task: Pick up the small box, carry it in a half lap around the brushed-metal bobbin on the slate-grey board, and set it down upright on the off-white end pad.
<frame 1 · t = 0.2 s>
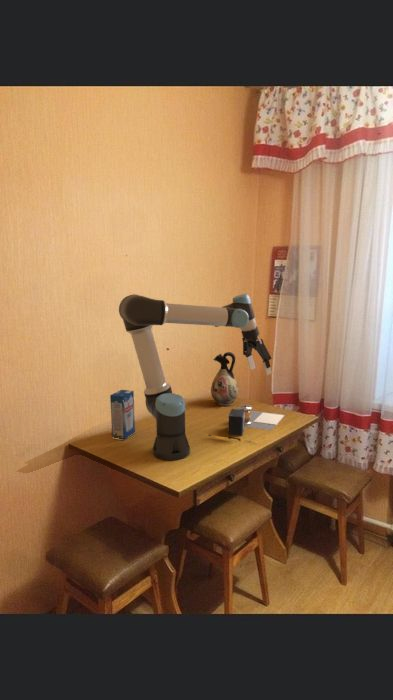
hand: (260, 371, 198), 27 cm above the table, tool tilted 15°, fingers open, 13 cm apart
bobbin: (244, 422, 205), resting on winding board
ceramic jug: (225, 404, 241), on the table
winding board: (259, 422, 210), on the table
small box: (236, 435, 194), on the table
milk carton: (123, 436, 194), on the table
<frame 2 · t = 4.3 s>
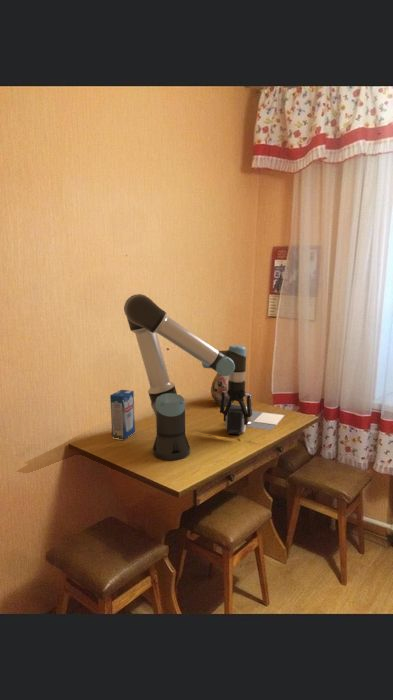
hand: (235, 429, 193), 2 cm above the table, tool pointing down, fingers closed on small box, 7 cm apart
small box: (235, 431, 193), point 2 cm above the table, touching gripper
everything else where it was.
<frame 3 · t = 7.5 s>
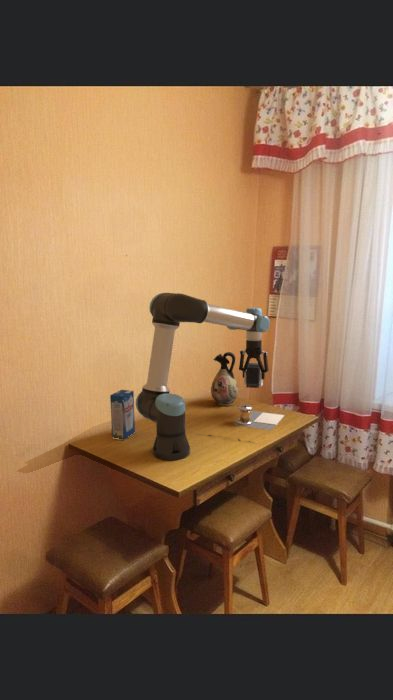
hand: (253, 384, 214), 17 cm above the table, tool pointing down, fingers closed on small box, 7 cm apart
small box: (253, 385, 214), point 17 cm above the table, touching gripper
everything else where it was.
when the fingers open (3 cm above the table, at t = 10.6 s): small box stays where it is, resting on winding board.
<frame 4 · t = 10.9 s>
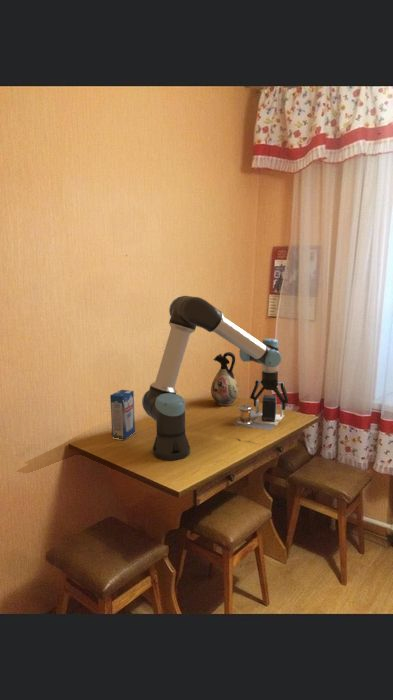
hand: (269, 414, 210), 4 cm above the table, tool pointing down, fingers open, 11 cm apart
small box: (269, 418, 210), point 2 cm above the table, touching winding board
everything else where it was.
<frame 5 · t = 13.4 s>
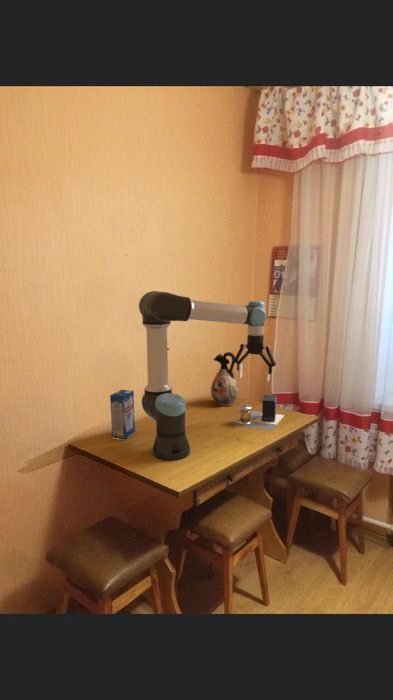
hand: (253, 379, 203), 22 cm above the table, tool pointing down, fingers open, 13 cm apart
nothing on the table moved.
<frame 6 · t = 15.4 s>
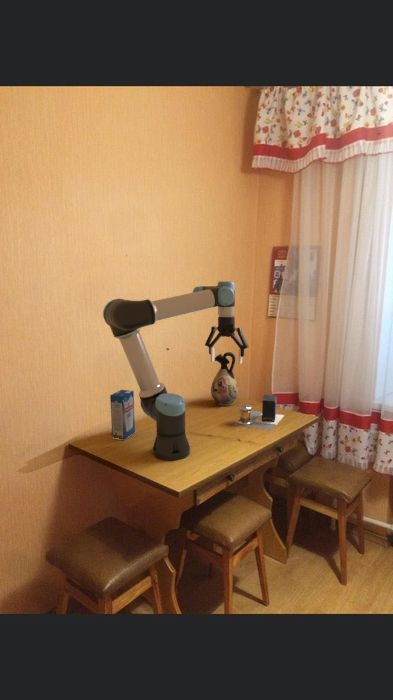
hand: (226, 362, 196), 32 cm above the table, tool pointing down, fingers open, 13 cm apart
nothing on the table moved.
at the end: small box inside the target area (0.1 cm from its centre), point 1.7 cm above the table; small box tilted 0°; the gripper is holding nothing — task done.
